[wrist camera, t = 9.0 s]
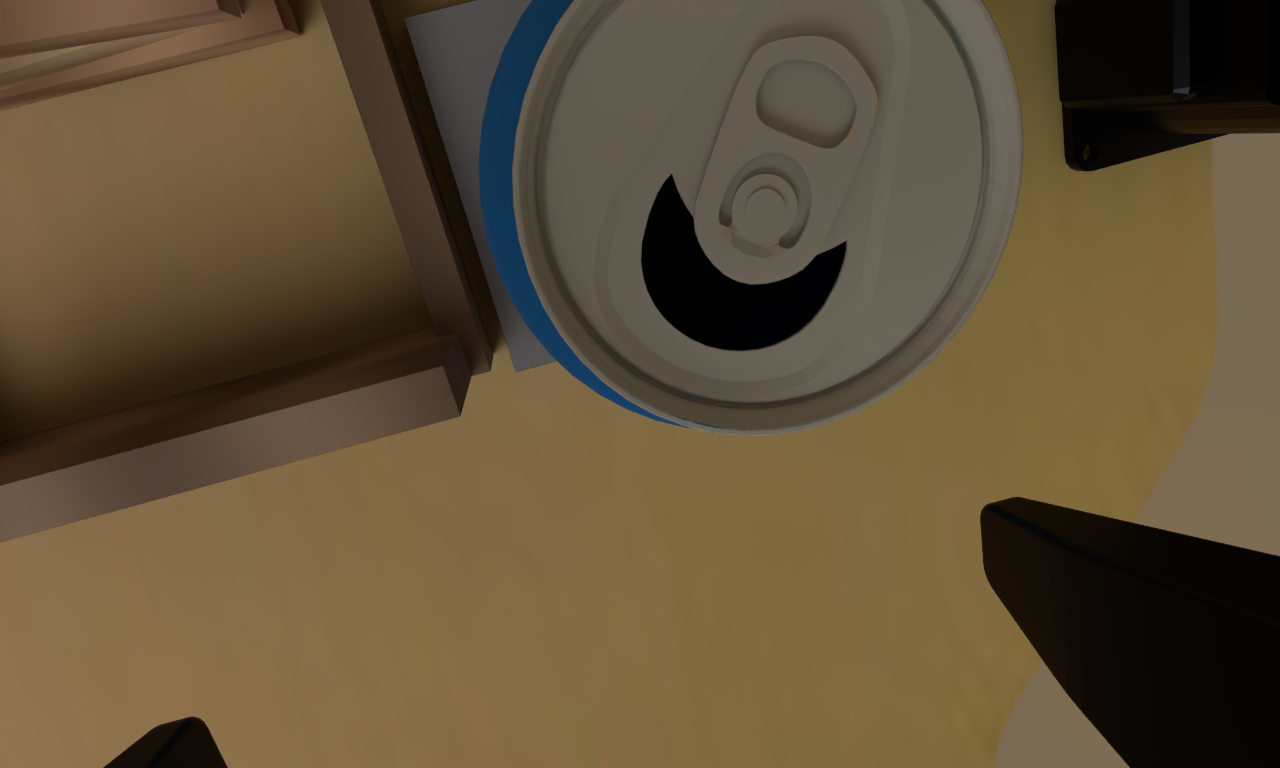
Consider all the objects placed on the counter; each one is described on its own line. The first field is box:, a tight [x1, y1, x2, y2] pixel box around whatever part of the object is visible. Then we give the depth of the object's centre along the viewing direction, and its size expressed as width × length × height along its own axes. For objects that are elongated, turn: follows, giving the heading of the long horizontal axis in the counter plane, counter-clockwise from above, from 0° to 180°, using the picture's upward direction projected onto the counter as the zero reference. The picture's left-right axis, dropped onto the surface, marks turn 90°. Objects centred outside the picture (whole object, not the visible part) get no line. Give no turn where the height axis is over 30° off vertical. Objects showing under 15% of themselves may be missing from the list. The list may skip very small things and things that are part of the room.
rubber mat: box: [404, 0, 557, 372], centre depth 20 cm, size 9×9×1 cm
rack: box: [0, 0, 493, 542], centre depth 16 cm, size 14×14×4 cm
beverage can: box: [478, 0, 1023, 436], centre depth 14 cm, size 6×6×12 cm
